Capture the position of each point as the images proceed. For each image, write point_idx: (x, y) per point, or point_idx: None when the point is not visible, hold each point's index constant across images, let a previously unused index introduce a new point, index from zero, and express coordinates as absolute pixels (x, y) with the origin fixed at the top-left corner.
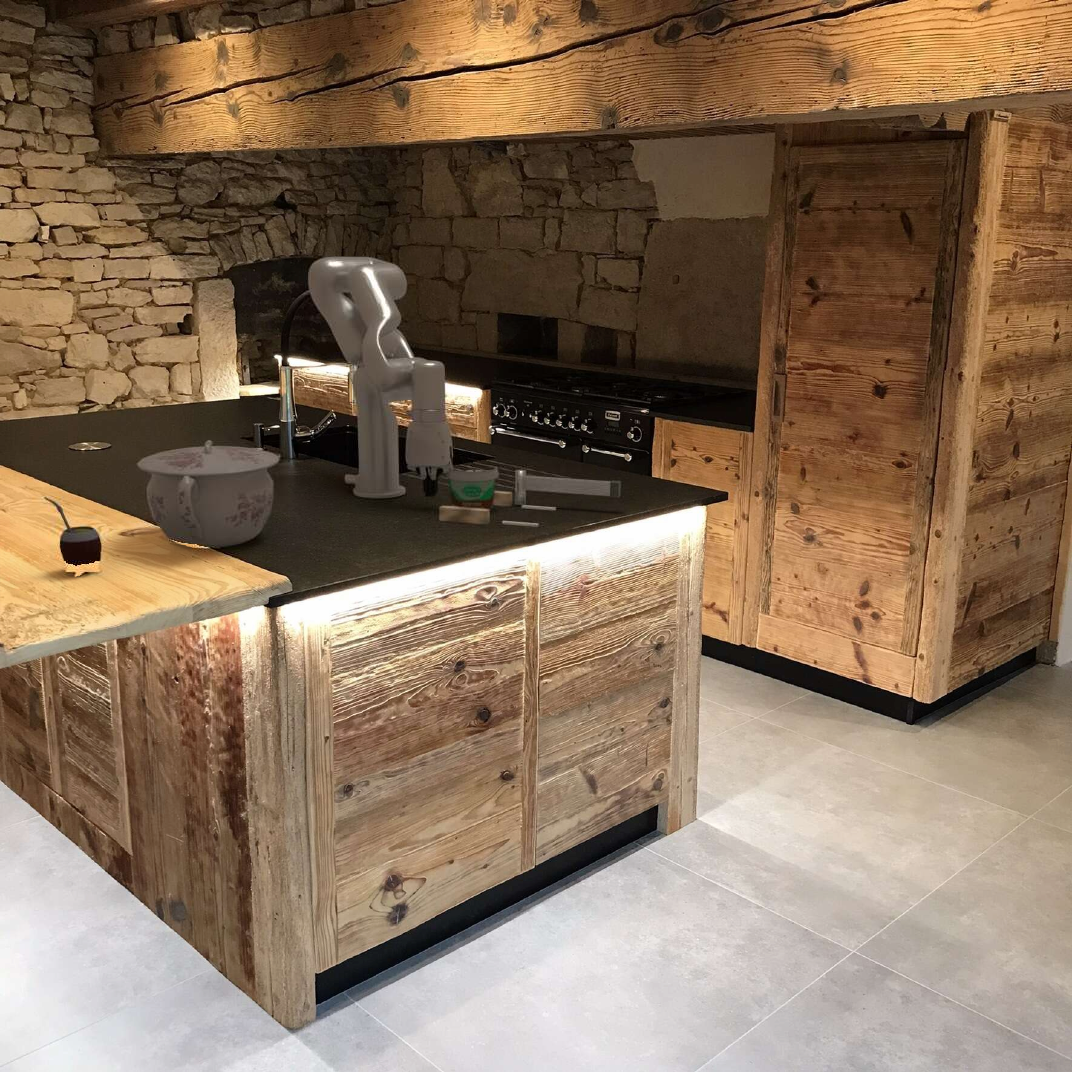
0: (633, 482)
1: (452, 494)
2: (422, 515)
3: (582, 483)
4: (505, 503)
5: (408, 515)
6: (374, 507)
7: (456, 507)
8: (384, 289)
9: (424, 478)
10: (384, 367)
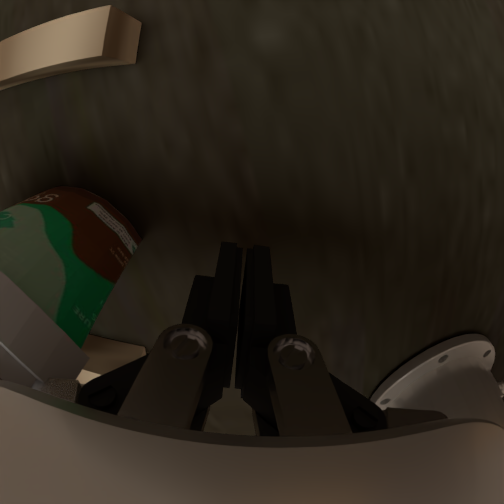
0: None
1: (89, 254)
2: (256, 102)
3: None
4: None
5: (332, 92)
6: (476, 232)
7: (31, 53)
8: None
9: (283, 345)
10: None
